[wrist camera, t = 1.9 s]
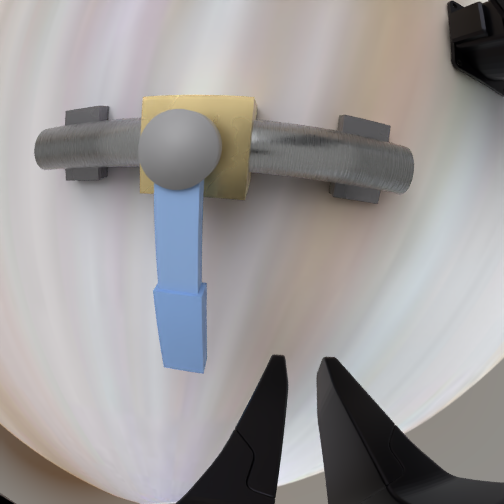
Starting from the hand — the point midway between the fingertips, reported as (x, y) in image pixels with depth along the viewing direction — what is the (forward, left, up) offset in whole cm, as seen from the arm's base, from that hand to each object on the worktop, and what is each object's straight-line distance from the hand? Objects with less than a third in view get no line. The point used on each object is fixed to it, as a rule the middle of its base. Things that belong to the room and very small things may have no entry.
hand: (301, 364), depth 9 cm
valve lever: (+5, -1, -5) cm, 7 cm away
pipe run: (+5, -6, -11) cm, 13 cm away
